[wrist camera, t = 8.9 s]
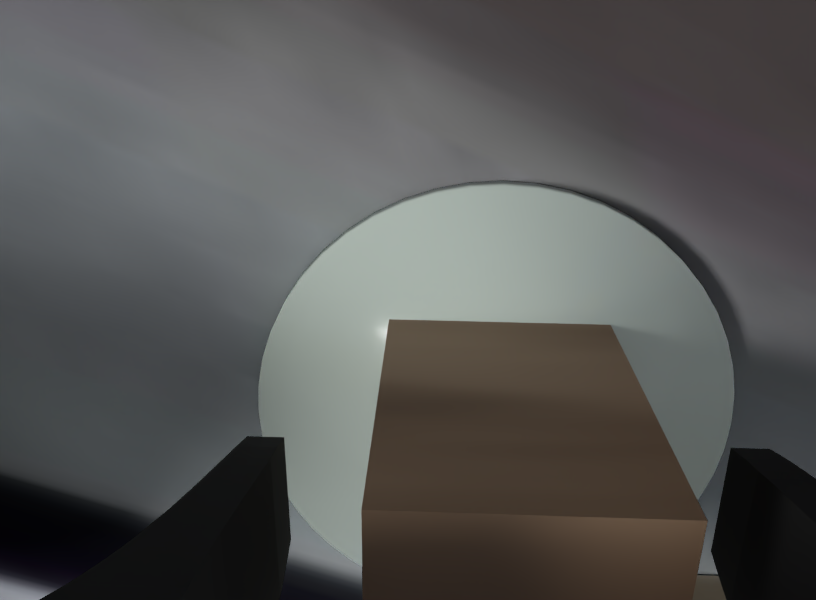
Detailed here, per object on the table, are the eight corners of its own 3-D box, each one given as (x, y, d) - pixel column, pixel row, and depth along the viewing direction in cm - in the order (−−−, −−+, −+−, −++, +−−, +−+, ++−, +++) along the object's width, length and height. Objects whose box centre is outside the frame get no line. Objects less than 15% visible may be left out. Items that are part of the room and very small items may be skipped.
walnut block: (588, 507, 16) (660, 762, 11) (388, 500, 16) (365, 750, 11) (610, 324, 14) (708, 520, 9) (389, 319, 14) (360, 509, 9)
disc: (691, 593, 17) (696, 606, 16) (276, 581, 17) (272, 594, 17) (766, 184, 13) (775, 190, 13) (246, 176, 14) (240, 182, 13)
